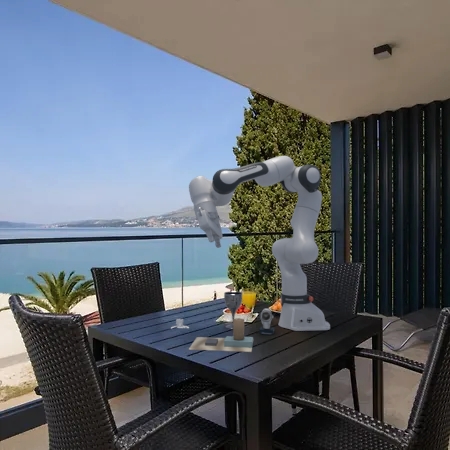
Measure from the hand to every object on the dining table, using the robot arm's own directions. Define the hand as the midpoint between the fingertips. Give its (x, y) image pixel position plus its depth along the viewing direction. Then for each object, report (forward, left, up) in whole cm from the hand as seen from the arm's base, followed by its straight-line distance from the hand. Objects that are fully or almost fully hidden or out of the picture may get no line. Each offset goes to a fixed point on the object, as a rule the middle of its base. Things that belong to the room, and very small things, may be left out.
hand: (215, 244), depth 149 cm
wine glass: (-5, -20, -38) cm, 43 cm away
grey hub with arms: (+20, -13, -38) cm, 45 cm away
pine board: (-4, +10, -37) cm, 39 cm away
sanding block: (-10, +10, -36) cm, 38 cm away
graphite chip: (0, +10, -36) cm, 37 cm away
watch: (-20, -7, -38) cm, 43 cm away
